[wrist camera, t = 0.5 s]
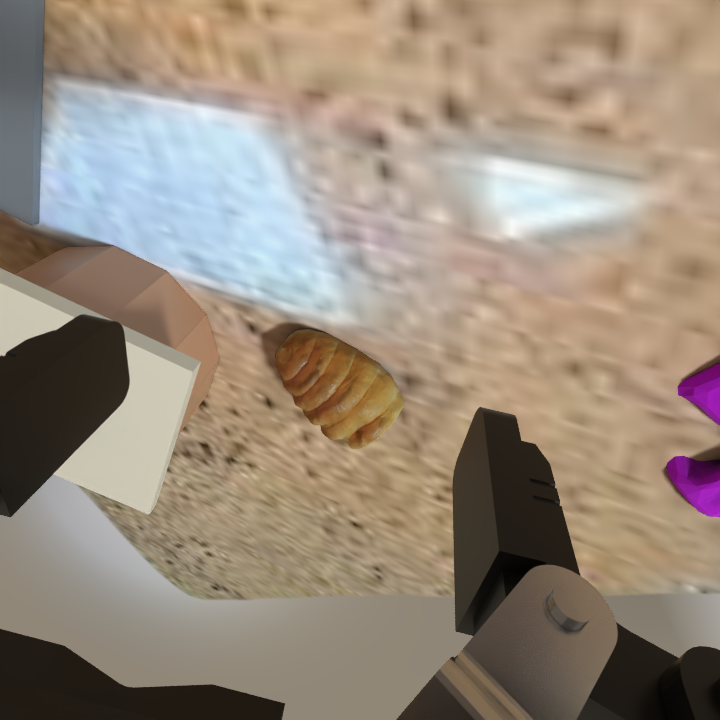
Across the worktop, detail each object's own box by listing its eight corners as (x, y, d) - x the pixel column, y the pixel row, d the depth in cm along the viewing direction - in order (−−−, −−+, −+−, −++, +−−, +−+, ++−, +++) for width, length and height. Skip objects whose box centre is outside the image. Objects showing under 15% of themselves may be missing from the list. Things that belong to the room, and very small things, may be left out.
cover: (-68, 236, 24) (-199, 286, 19) (201, 361, 26) (142, 436, 21) (-45, 418, 33) (-132, 484, 28) (156, 503, 35) (107, 579, 30)
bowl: (38, 209, 30) (-58, 248, 25) (238, 305, 32) (191, 364, 26) (35, 360, 38) (-38, 417, 33) (194, 431, 40) (151, 497, 34)
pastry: (262, 358, 35) (243, 390, 31) (319, 303, 31) (305, 332, 28) (354, 432, 37) (345, 468, 34) (417, 389, 34) (413, 424, 31)
